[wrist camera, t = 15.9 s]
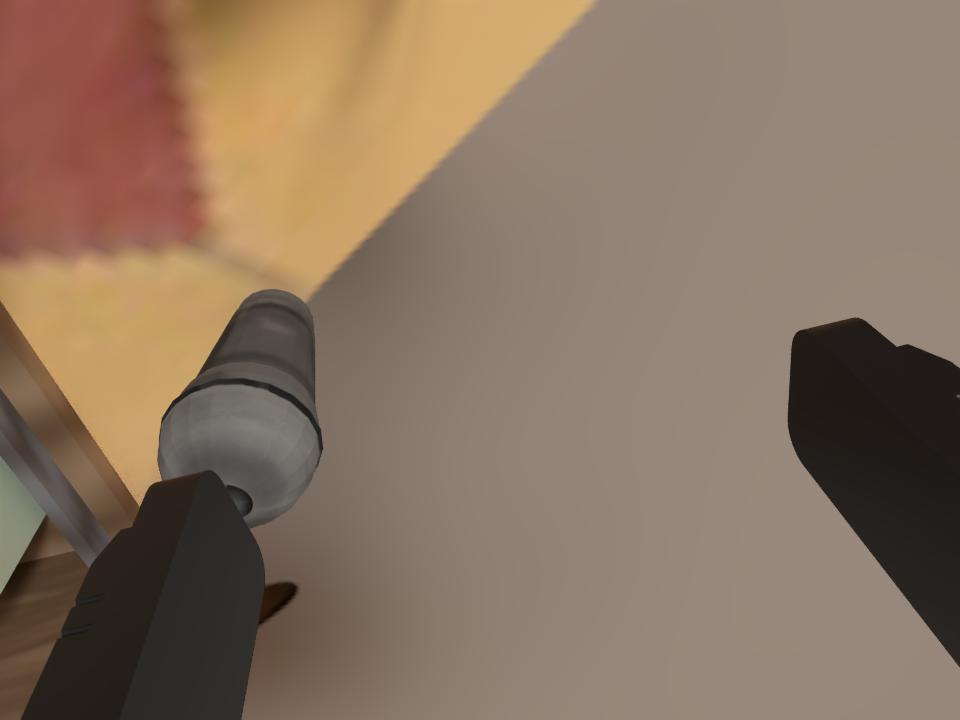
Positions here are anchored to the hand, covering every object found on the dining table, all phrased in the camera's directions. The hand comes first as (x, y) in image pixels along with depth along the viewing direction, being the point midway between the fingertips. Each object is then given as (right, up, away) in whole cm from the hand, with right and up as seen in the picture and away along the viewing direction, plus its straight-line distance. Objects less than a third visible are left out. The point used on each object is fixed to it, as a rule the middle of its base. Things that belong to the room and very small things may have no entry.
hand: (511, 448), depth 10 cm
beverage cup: (-13, +4, +32) cm, 35 cm away
